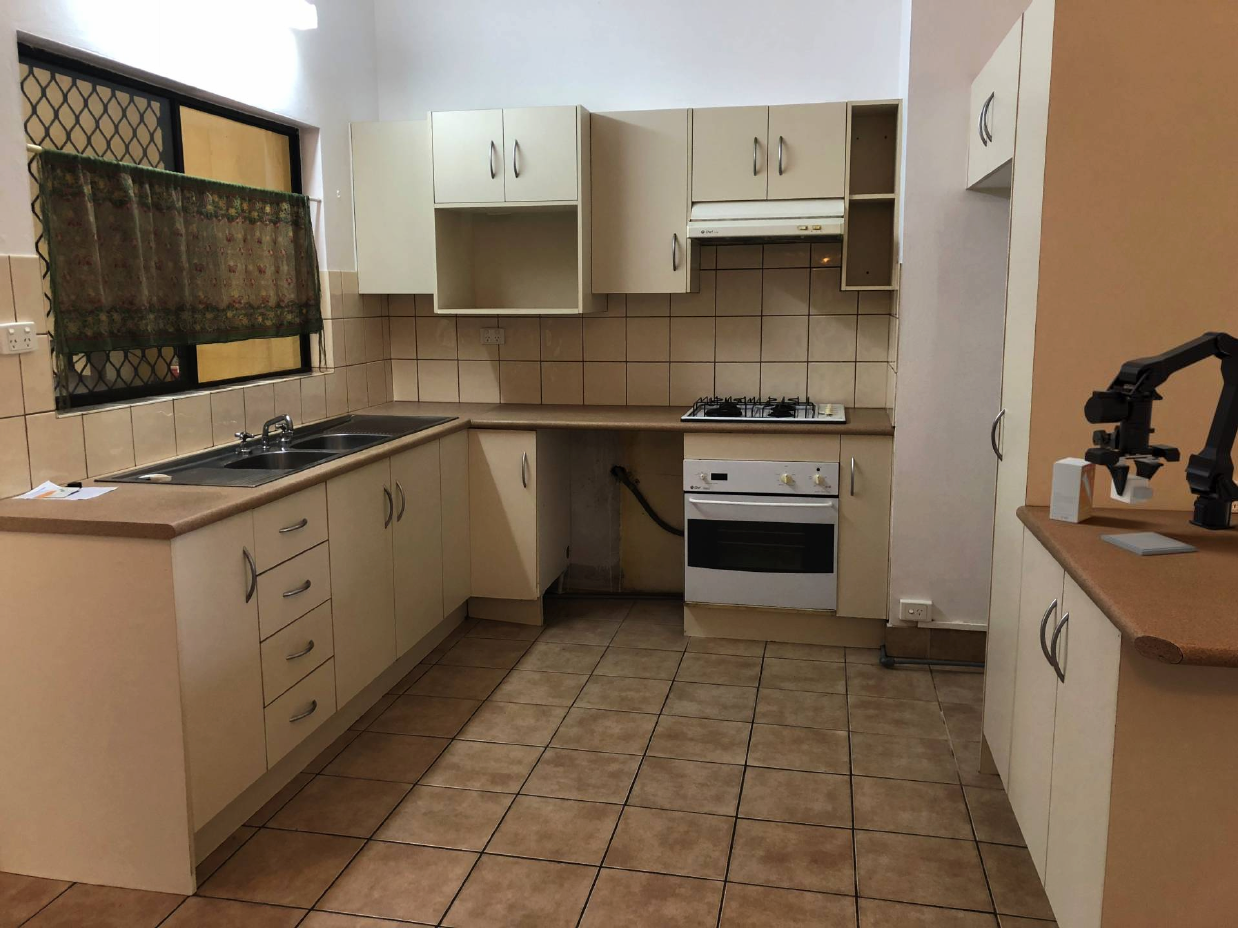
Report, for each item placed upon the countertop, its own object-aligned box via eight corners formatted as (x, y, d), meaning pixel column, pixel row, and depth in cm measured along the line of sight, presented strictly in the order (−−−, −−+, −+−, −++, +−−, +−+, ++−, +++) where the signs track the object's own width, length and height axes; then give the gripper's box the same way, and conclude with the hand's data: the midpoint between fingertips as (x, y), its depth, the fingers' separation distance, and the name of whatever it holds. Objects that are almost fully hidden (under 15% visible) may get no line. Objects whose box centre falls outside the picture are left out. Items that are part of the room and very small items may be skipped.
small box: (1077, 523, 218) (1082, 465, 215) (1048, 518, 222) (1052, 461, 219) (1092, 517, 223) (1097, 460, 220) (1063, 512, 228) (1068, 456, 225)
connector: (1126, 496, 213) (1128, 473, 212) (1154, 505, 205) (1157, 481, 204) (1110, 497, 212) (1112, 474, 211) (1137, 506, 204) (1140, 482, 203)
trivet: (1151, 535, 207) (1152, 531, 207) (1195, 551, 196) (1195, 546, 196) (1100, 539, 205) (1101, 534, 205) (1141, 555, 194) (1141, 550, 193)
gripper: (1147, 414, 216) (1140, 484, 219) (1070, 418, 212) (1065, 489, 215) (1185, 422, 205) (1178, 495, 208) (1105, 426, 201) (1099, 500, 204)
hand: (1128, 494), depth 209 cm, fingers closed on connector, 4 cm apart
